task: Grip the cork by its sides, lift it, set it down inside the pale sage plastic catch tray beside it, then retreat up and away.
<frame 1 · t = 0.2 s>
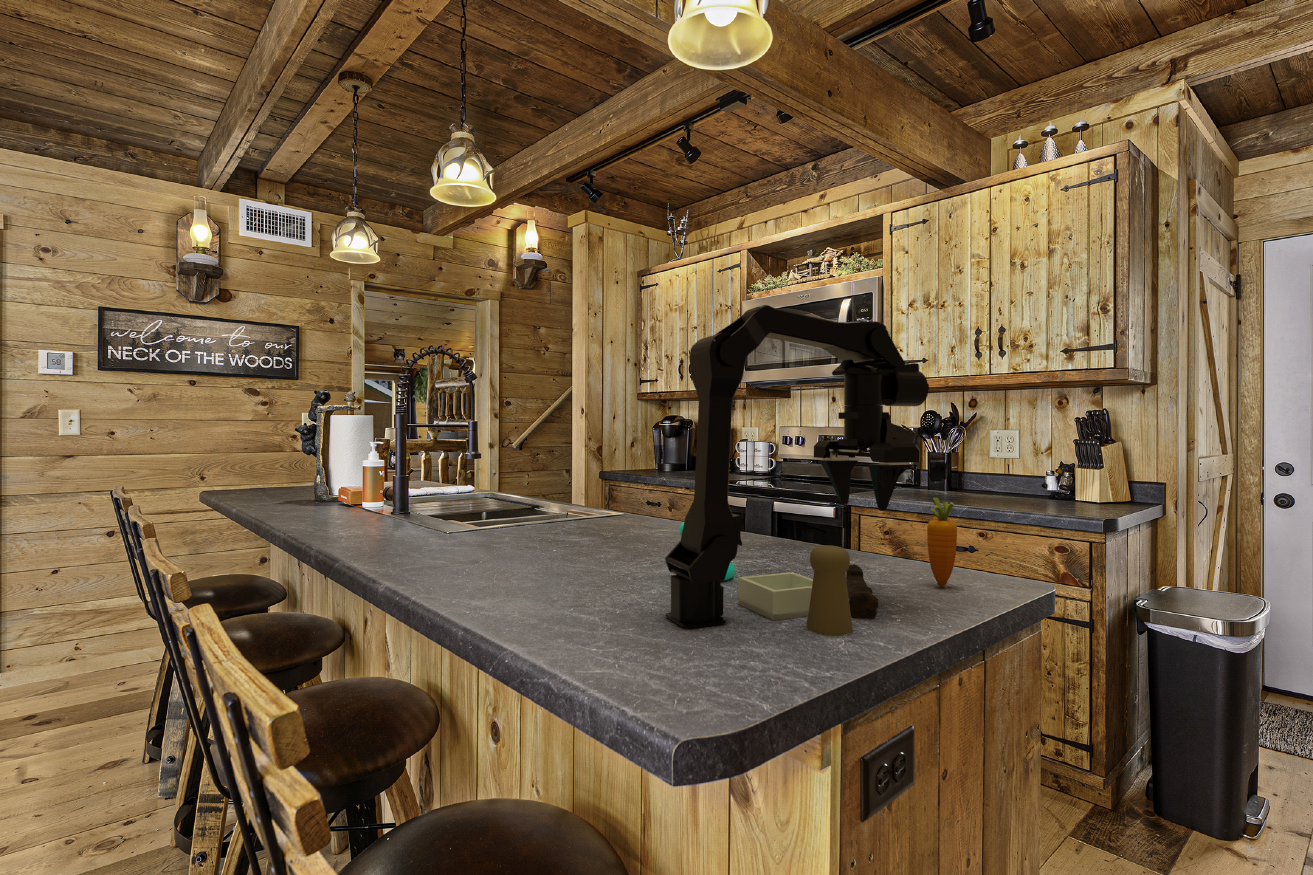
hand: (862, 507, 105), 15 cm above the countertop, fingers open, 9 cm apart
carrot: (941, 588, 114), on the countertop
cork: (829, 629, 91), on the countertop
dark brown lumpy bar: (853, 604, 105), on the countertop
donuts: (706, 578, 122), on the countertop
catch tray: (783, 608, 101), on the countertop
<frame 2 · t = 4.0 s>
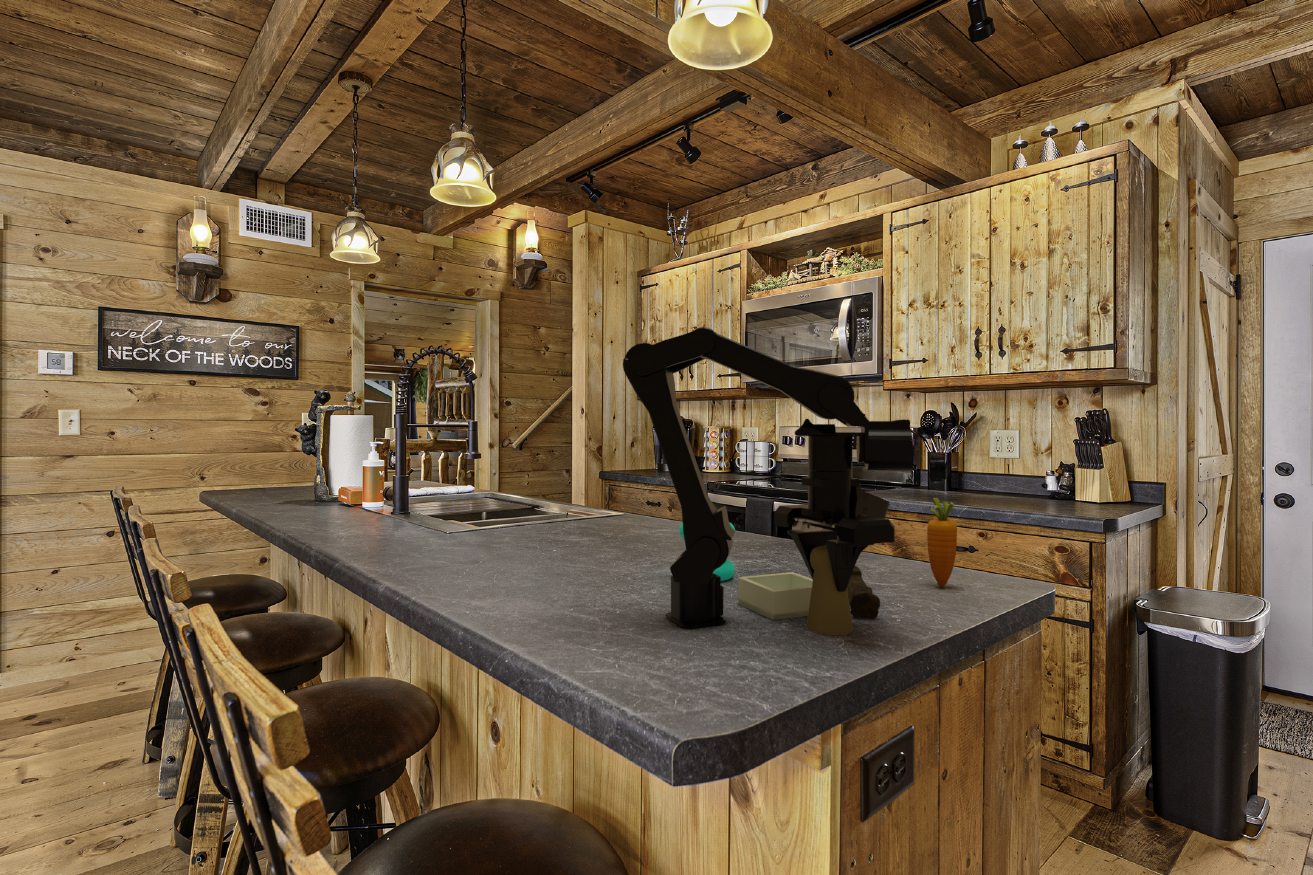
hand: (829, 587, 91), 6 cm above the countertop, fingers closed on cork, 5 cm apart
cork: (829, 629, 91), on the countertop, touching gripper
everything else where it was.
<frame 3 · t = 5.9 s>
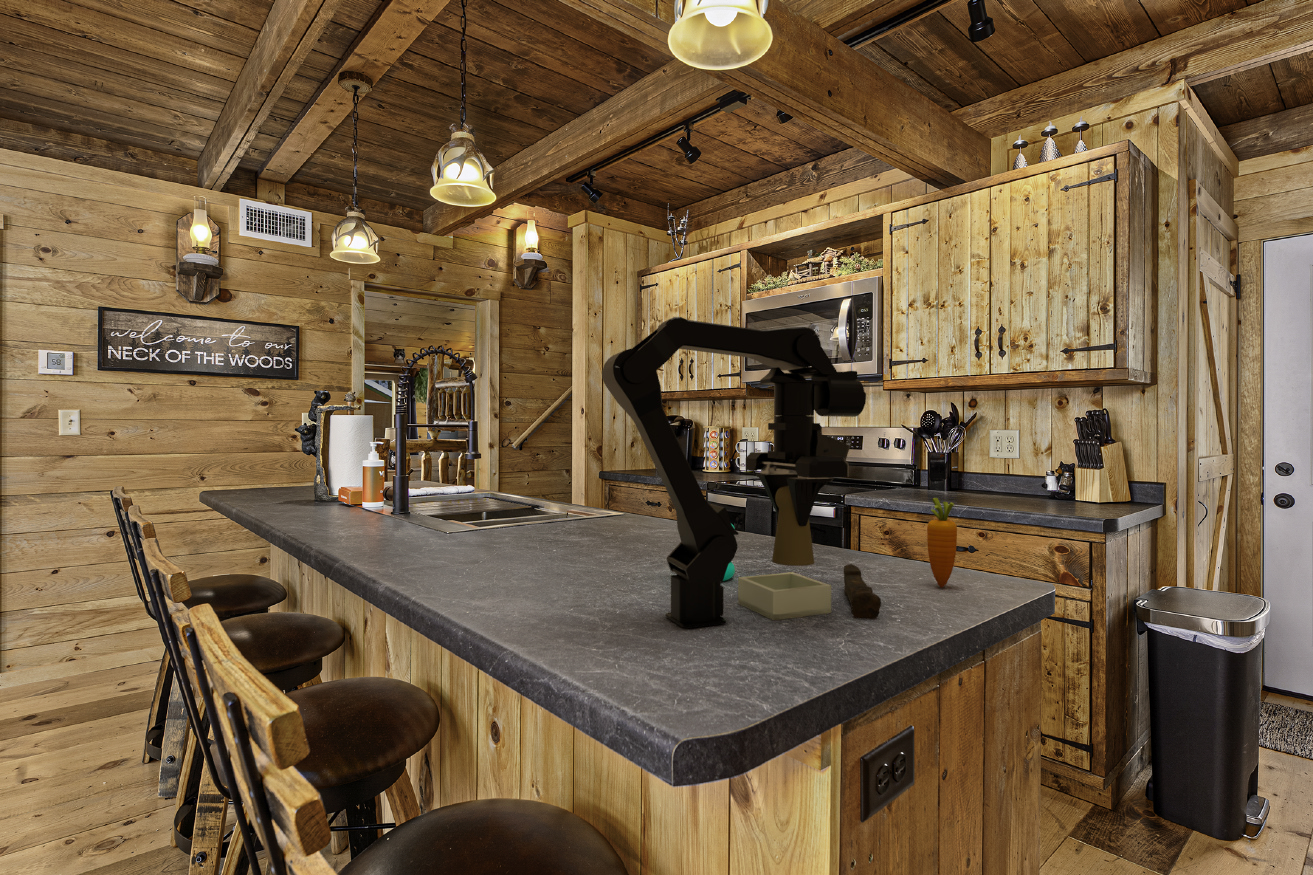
hand: (792, 523, 99), 13 cm above the countertop, fingers closed on cork, 5 cm apart
cork: (793, 563, 99), point 7 cm above the countertop, touching gripper
everything else where it was.
when the fingers open (8 cm above the countertop, at t = 8.1 s): cork drops 1 cm, resting on catch tray.
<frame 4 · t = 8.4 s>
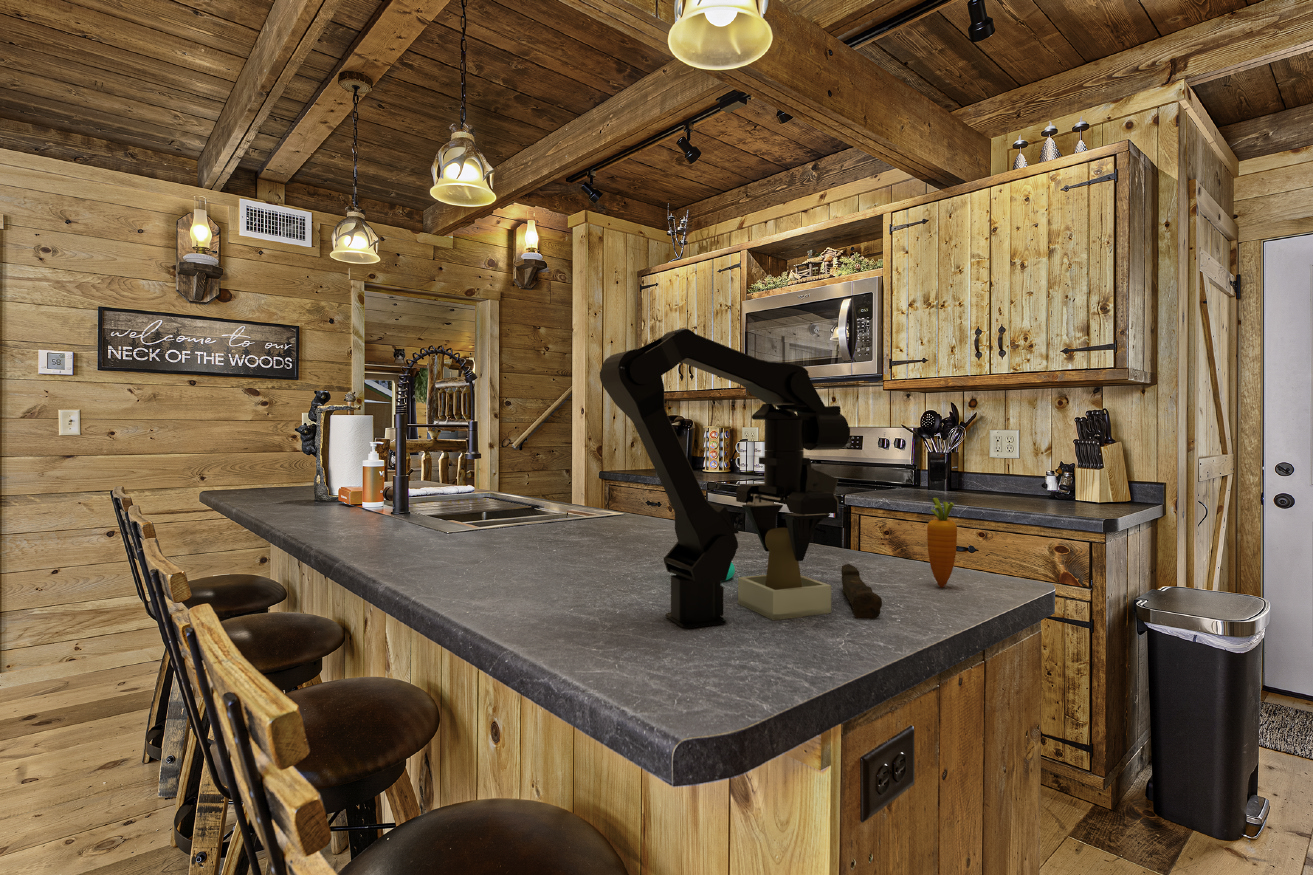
hand: (783, 555, 101), 8 cm above the countertop, fingers open, 8 cm apart
cork: (784, 603, 101), point 1 cm above the countertop, touching catch tray
everything else where it was.
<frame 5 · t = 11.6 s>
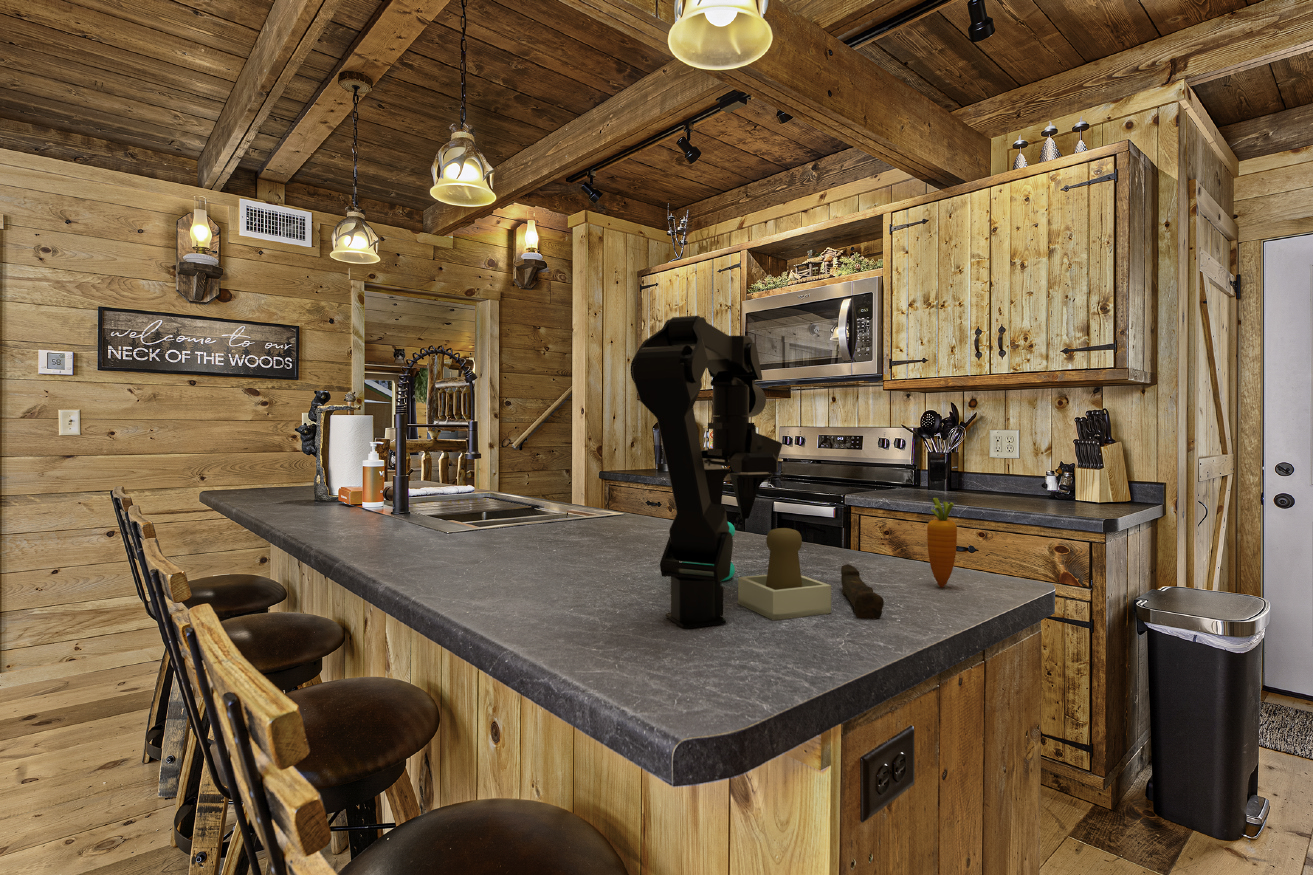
hand: (730, 515, 108), 13 cm above the countertop, fingers open, 9 cm apart
nothing on the countertop moved.
at the end: cork 0.1 cm off-centre on the catch tray, point 0.6 cm above the catch tray's base; cork tilted 0°; the gripper is holding nothing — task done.
